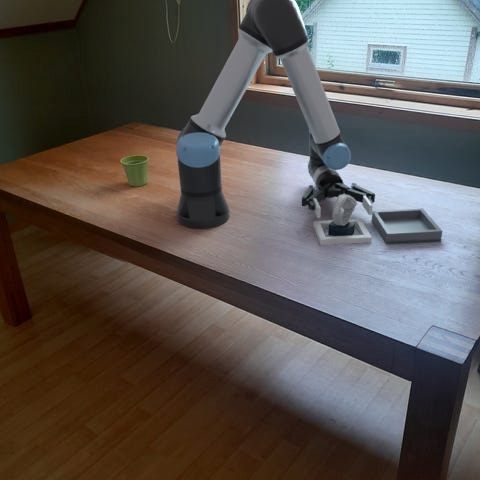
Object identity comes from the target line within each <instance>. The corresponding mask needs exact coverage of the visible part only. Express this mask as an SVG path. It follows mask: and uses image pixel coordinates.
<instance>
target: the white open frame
mask: <svg viewBox="0 0 480 480" xmlns="http://www.w3.org/2000/svg"><path fill="white" fill-rule="evenodd" d="M332 221H333V219H332V220H330V219H329V220H314V221H313V229H314V230H315V234H316V237H317V239H318V242H319V244H320V246H327V245H329V246H330V245H346V244H347V245H348V244H364V243H372V236H371V234H370V232H369V230H368V229H367V226H366V225H365V223H364V221H363V220H362V218H353V219H352V218H350V220H349V222H352V223H355V228H356V229H357V230H358V232H359V235H357V234H356V235H352V236H326V234H325V232H324V230H323V229H328V228H329V224H330V223H331V222H332Z"/></svg>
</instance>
